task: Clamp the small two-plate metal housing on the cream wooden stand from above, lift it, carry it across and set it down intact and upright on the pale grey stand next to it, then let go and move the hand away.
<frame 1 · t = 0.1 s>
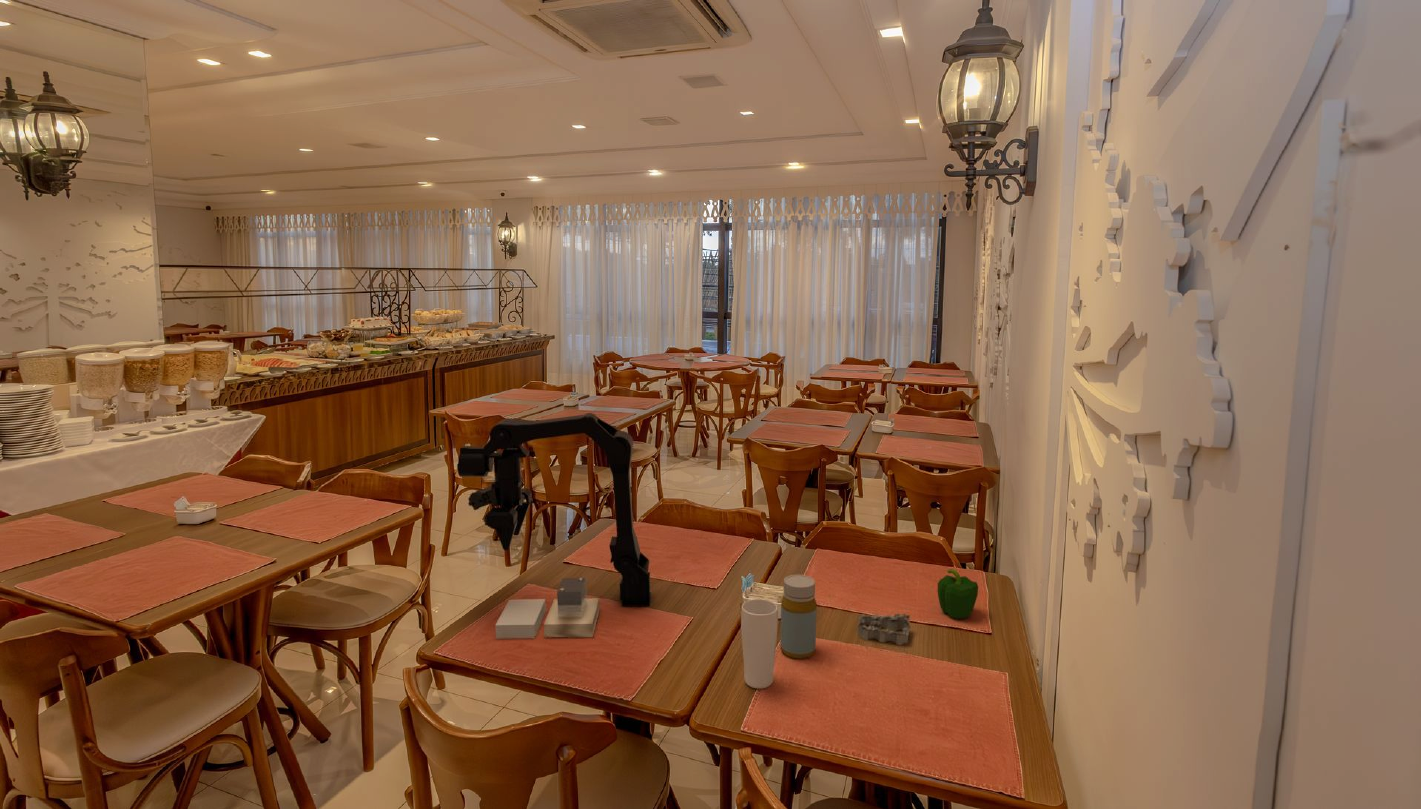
hand: (511, 542, 164), 15 cm above the table, tool pointing down, fingers open, 9 cm apart
stand a: (573, 623, 156), on the table
bell pepper: (956, 614, 161), on the table
drinking glass: (758, 683, 134), on the table
bottle: (797, 651, 145), on the table
housing: (572, 610, 156), point 3 cm above the table, touching stand a
stand b: (522, 624, 156), on the table
egg carton: (883, 636, 152), on the table
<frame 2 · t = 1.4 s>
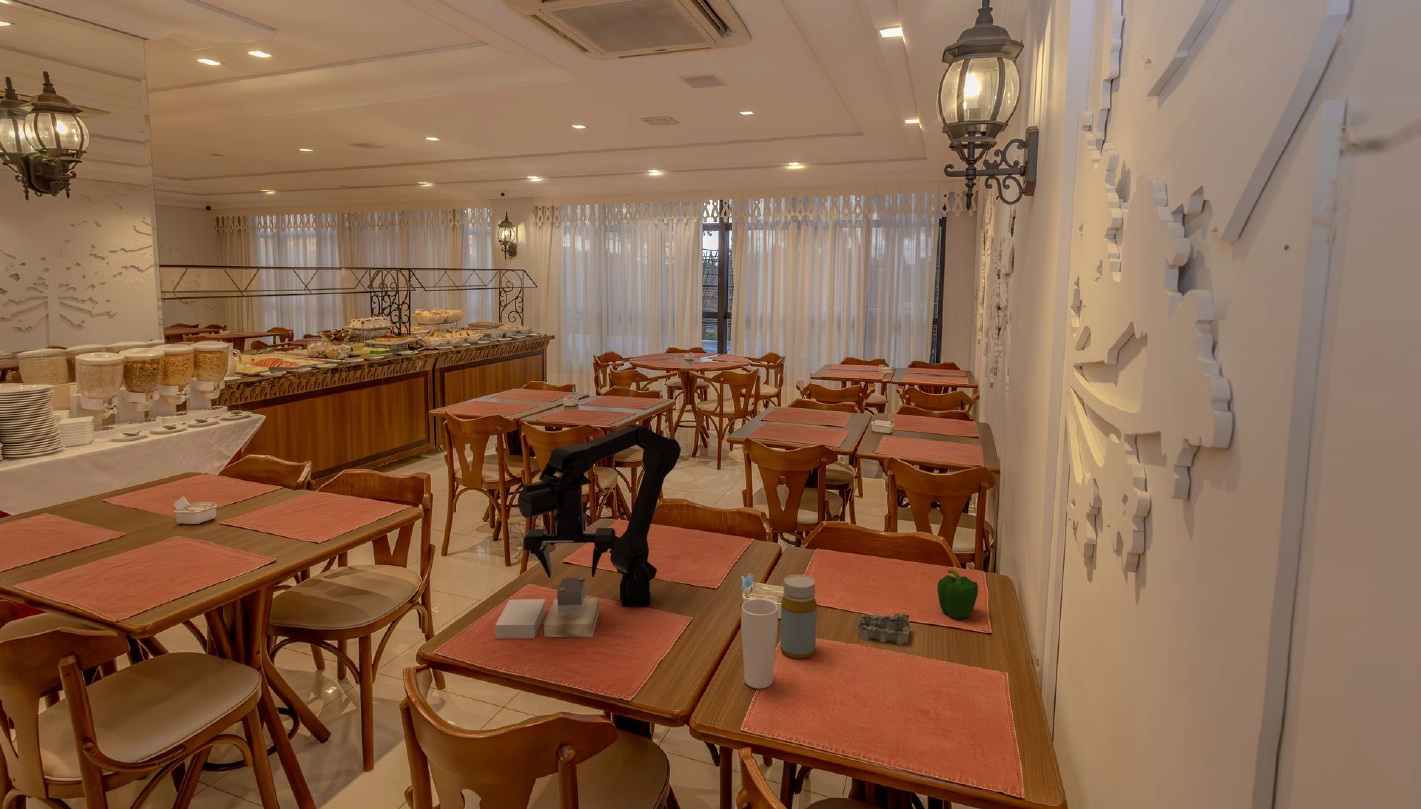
hand: (571, 576, 155), 11 cm above the table, tool pointing down, fingers open, 9 cm apart
nothing on the table moved.
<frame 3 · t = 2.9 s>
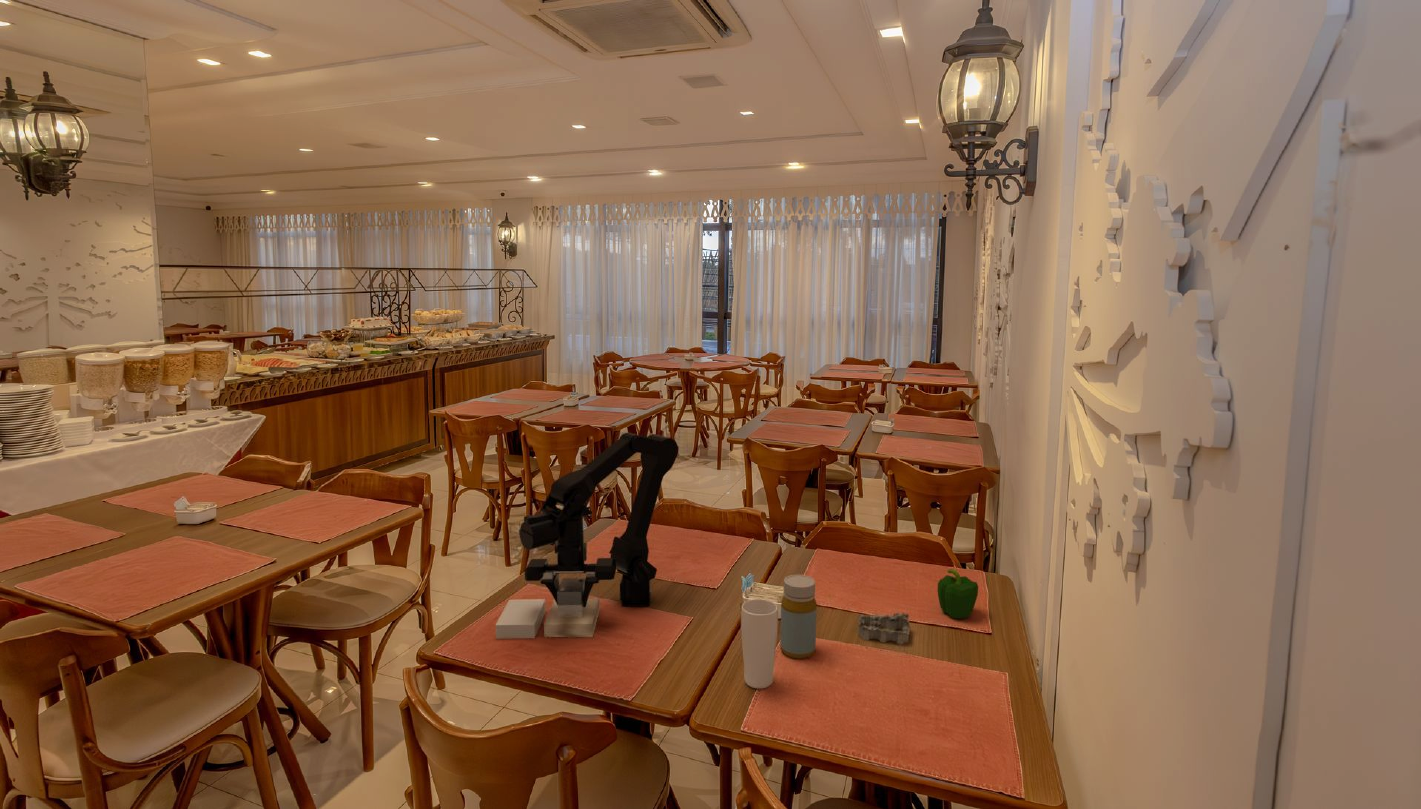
hand: (572, 606, 156), 4 cm above the table, tool pointing down, fingers closed on housing, 5 cm apart
housing: (572, 610, 156), point 3 cm above the table, touching gripper, stand a
everything else where it was.
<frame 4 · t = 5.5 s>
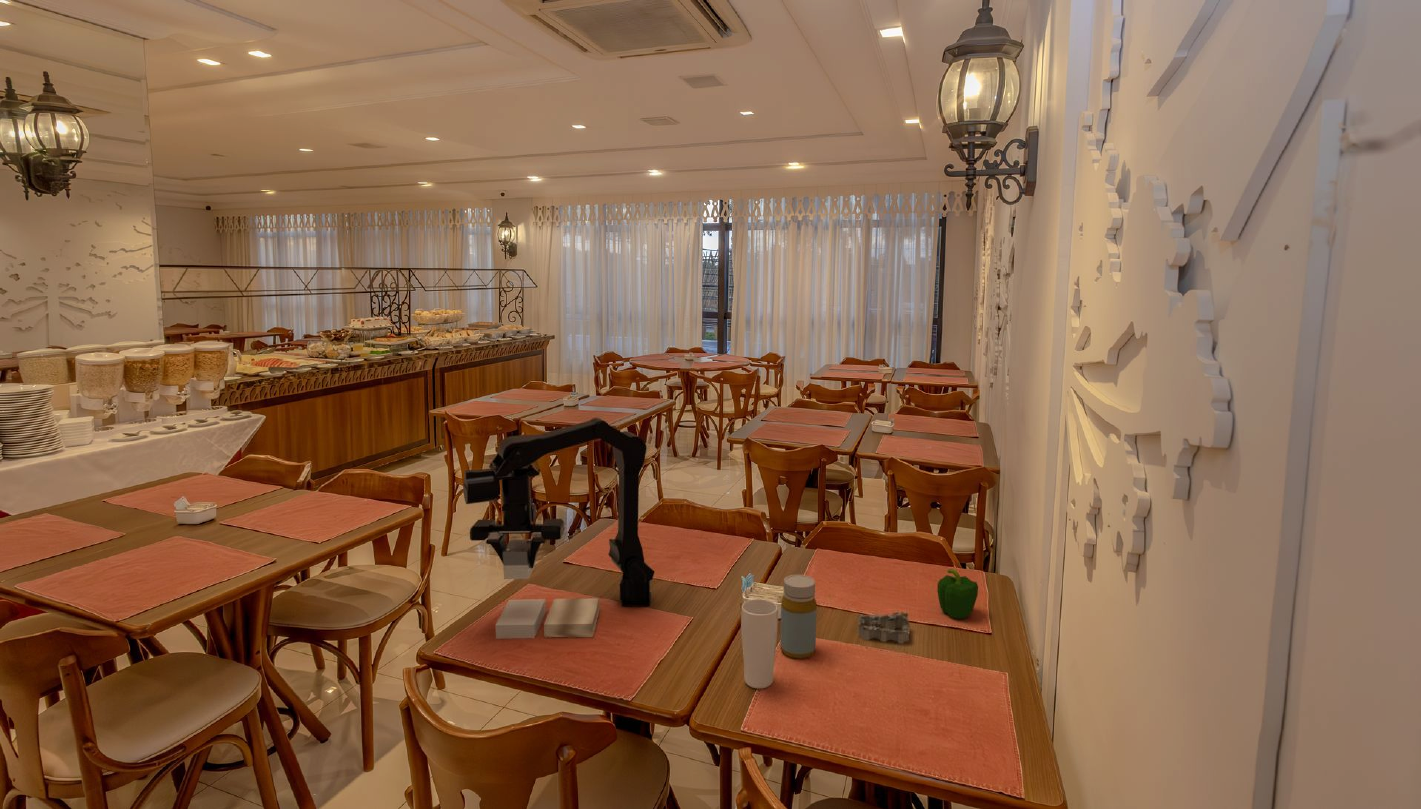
hand: (519, 567, 154), 13 cm above the table, tool pointing down, fingers closed on housing, 5 cm apart
housing: (519, 572, 154), point 12 cm above the table, touching gripper
everything else where it was.
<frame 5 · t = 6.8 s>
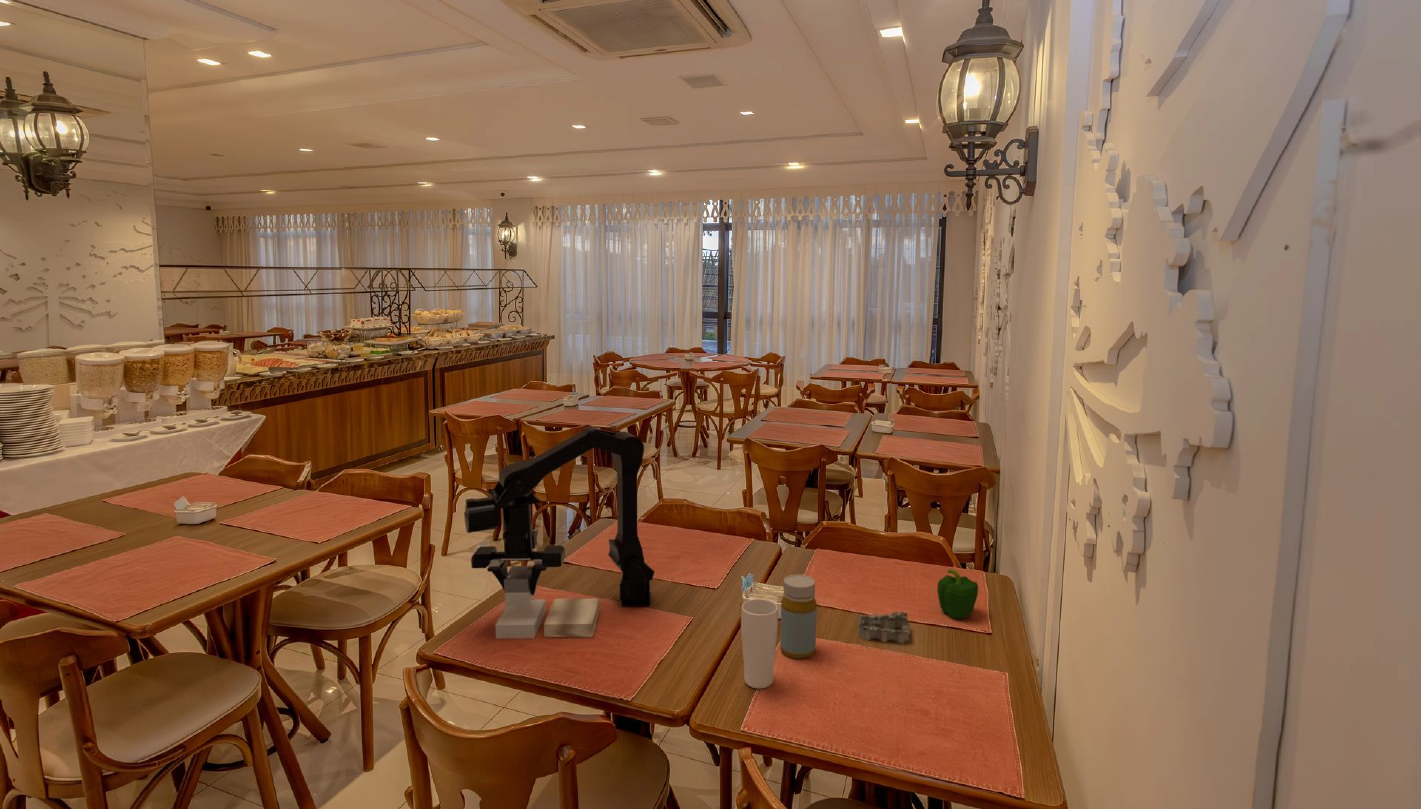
hand: (520, 594, 155), 7 cm above the table, tool pointing down, fingers closed on housing, 5 cm apart
housing: (521, 598, 155), point 6 cm above the table, touching gripper
everything else where it was.
when the fingers open (5 cm above the table, at t = 8.0 s): housing drops 1 cm, resting on stand b.
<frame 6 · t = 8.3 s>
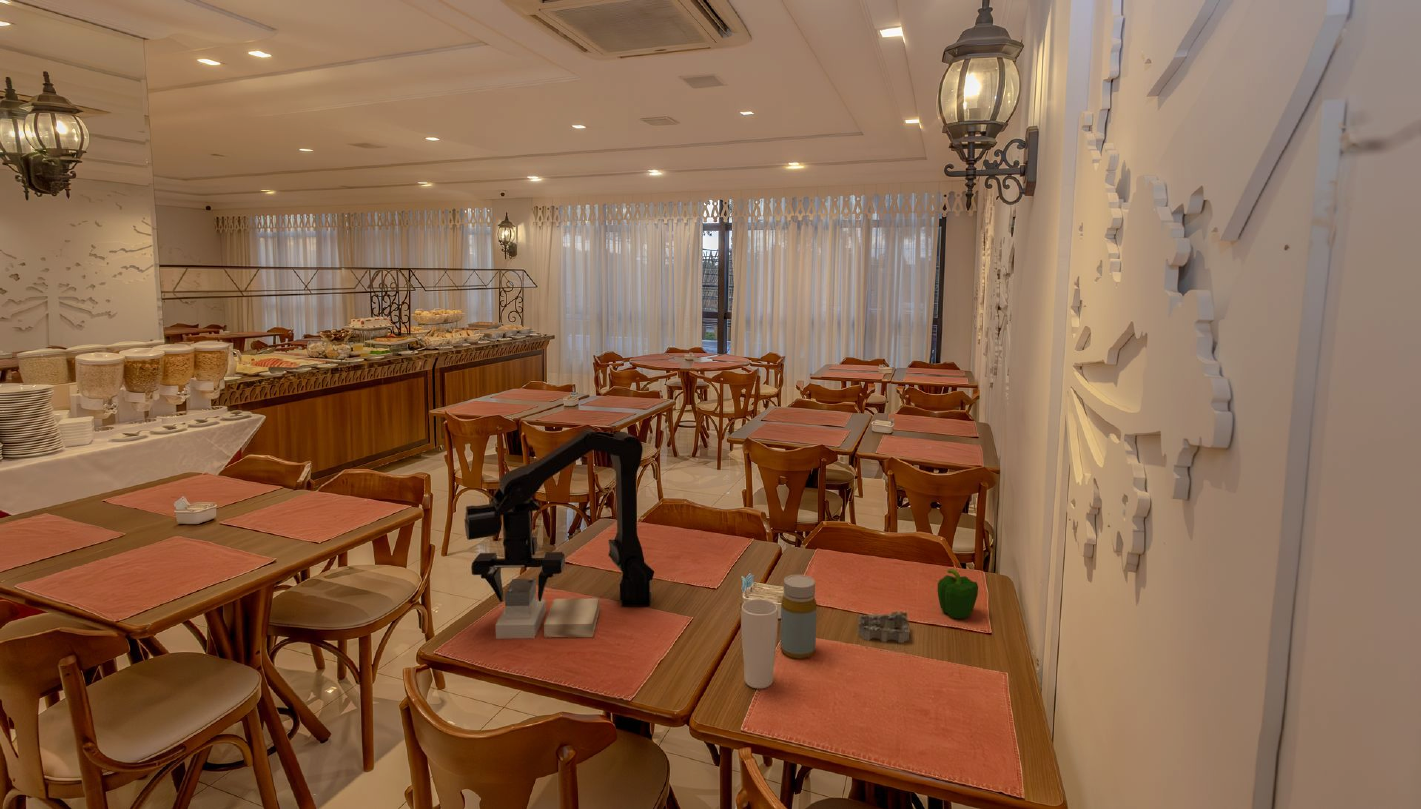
hand: (521, 600, 155), 5 cm above the table, tool pointing down, fingers open, 8 cm apart
housing: (521, 611, 155), point 3 cm above the table, touching stand b
everything else where it was.
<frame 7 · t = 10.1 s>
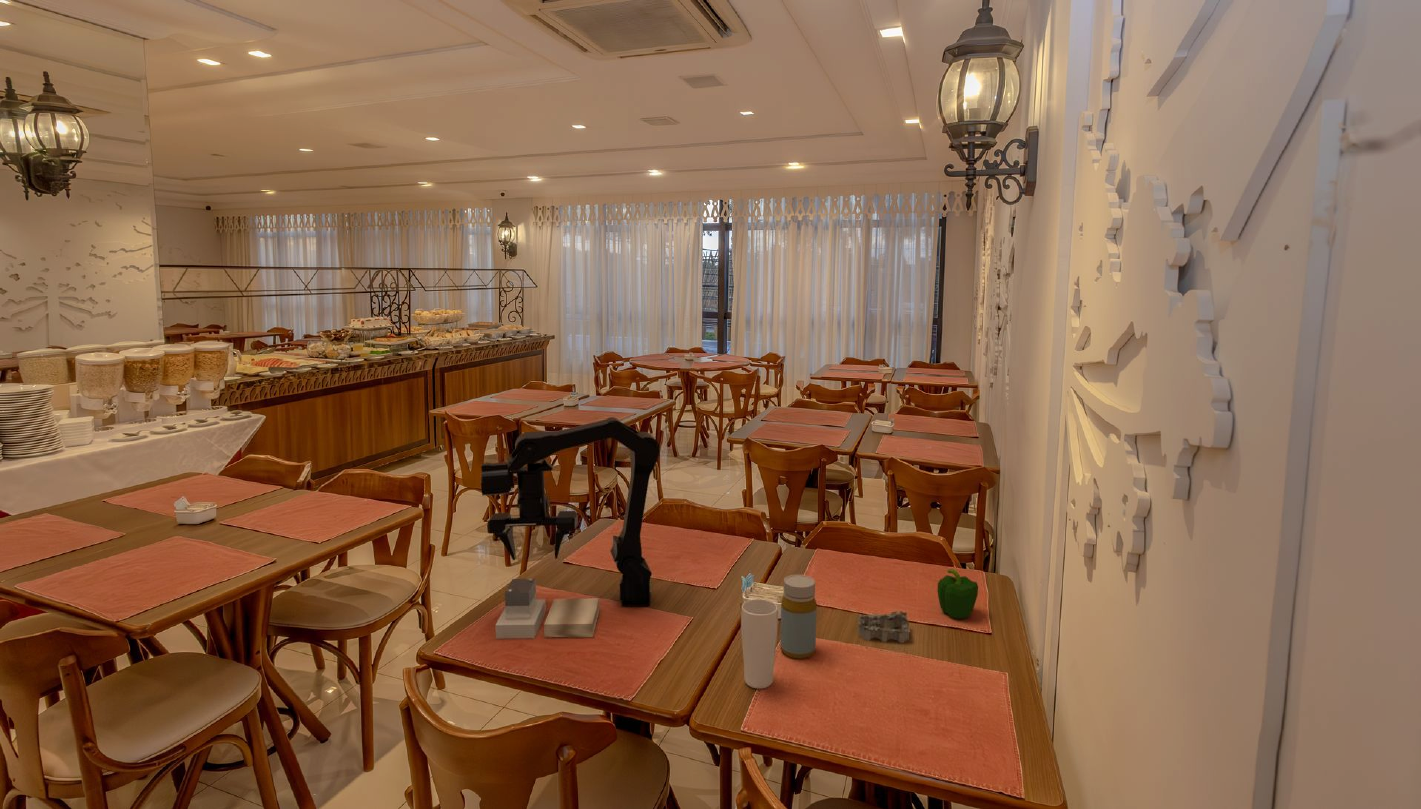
hand: (535, 558, 159), 13 cm above the table, tool pointing down, fingers open, 9 cm apart
nothing on the table moved.
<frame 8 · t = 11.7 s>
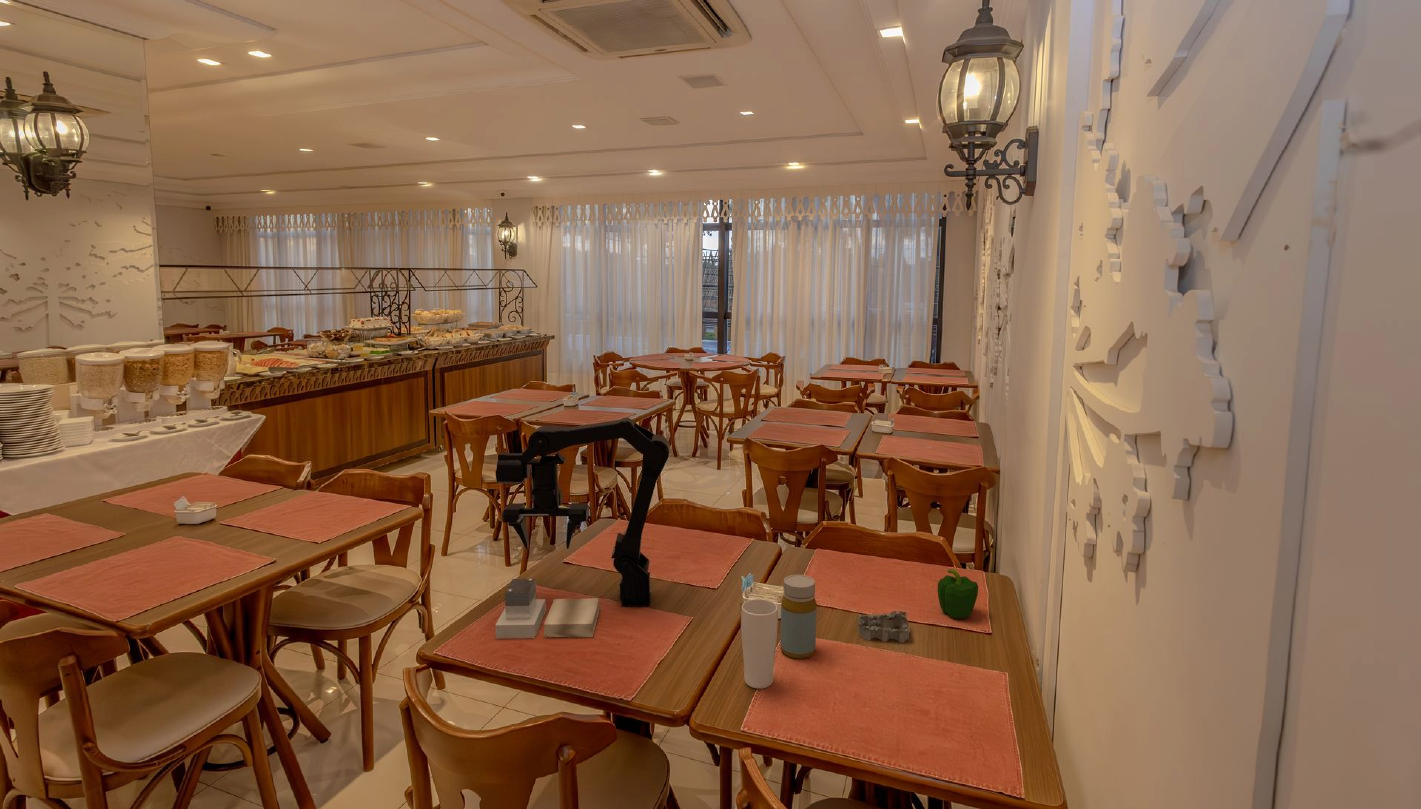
hand: (547, 548, 165), 13 cm above the table, tool pointing down, fingers open, 9 cm apart
nothing on the table moved.
at the end: housing inside the target area on the stand b (0.1 cm from its centre), point 3.0 cm above the stand b's base; housing tilted 0°; the gripper is holding nothing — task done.
